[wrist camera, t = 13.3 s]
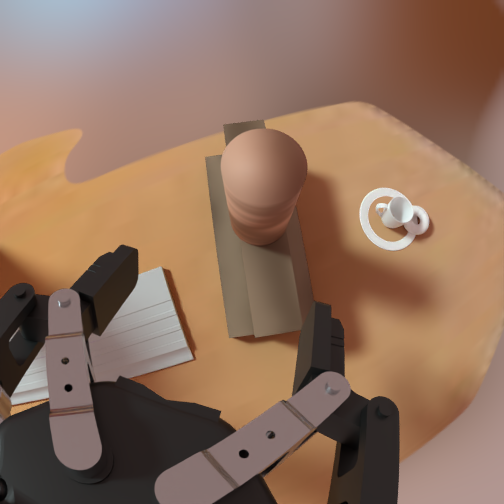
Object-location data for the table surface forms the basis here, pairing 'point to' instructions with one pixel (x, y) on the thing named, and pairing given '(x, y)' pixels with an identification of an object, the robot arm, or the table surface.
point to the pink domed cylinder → (262, 183)
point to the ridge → (258, 265)
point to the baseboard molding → (125, 340)
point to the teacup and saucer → (402, 214)
